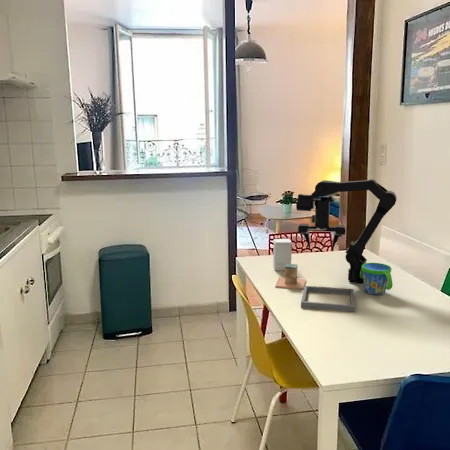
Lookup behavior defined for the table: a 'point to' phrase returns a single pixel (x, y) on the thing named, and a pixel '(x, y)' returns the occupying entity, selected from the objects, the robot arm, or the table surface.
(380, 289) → the snack cup
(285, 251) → the supplement box
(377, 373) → the table surface
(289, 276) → the oak block
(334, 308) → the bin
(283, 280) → the tile
